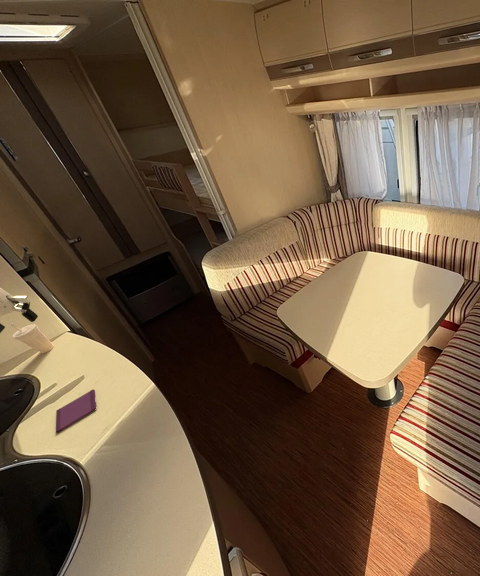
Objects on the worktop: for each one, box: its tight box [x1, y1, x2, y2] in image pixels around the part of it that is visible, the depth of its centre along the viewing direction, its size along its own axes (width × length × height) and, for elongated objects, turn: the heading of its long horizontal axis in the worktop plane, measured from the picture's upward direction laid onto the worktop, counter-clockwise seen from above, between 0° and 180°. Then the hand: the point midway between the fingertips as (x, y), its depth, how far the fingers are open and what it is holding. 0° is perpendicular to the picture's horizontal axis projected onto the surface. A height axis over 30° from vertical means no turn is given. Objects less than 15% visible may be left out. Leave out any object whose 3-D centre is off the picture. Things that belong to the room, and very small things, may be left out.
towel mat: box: [55, 388, 97, 434], centre depth 86 cm, size 9×9×1 cm
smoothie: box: [9, 322, 55, 354], centre depth 106 cm, size 6×6×14 cm
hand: (18, 324), depth 103 cm, fingers open, 9 cm apart
